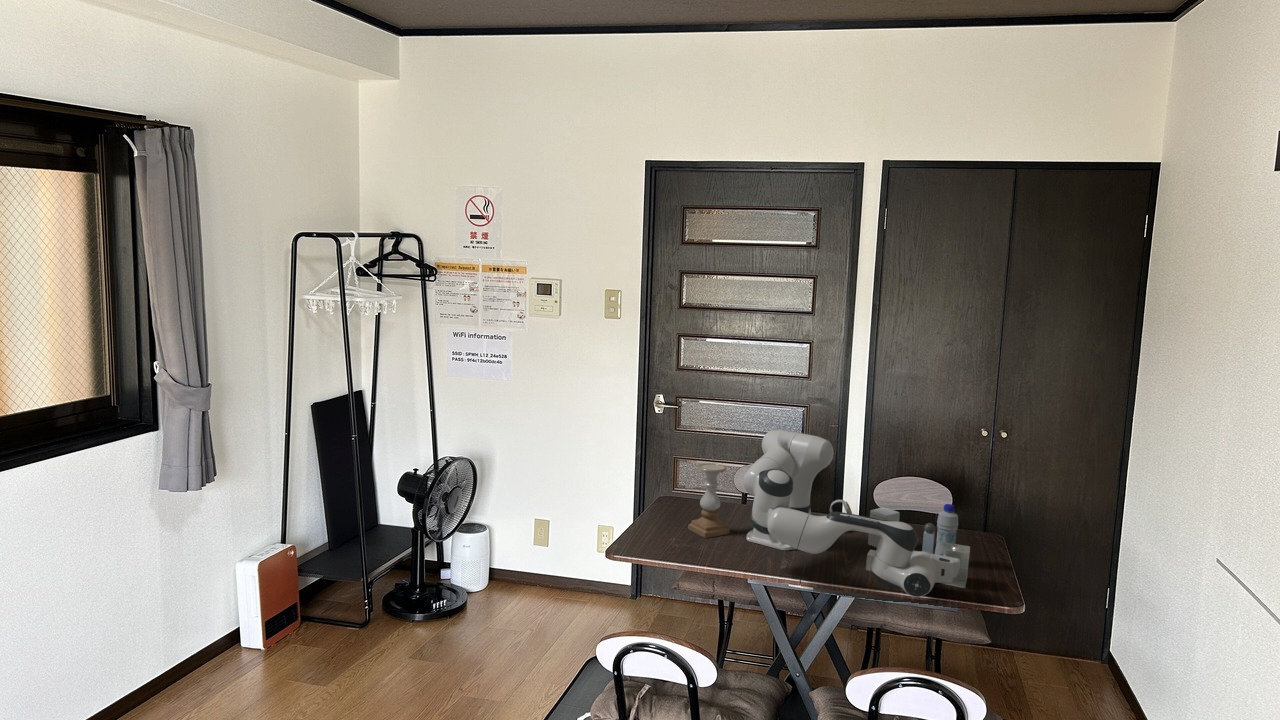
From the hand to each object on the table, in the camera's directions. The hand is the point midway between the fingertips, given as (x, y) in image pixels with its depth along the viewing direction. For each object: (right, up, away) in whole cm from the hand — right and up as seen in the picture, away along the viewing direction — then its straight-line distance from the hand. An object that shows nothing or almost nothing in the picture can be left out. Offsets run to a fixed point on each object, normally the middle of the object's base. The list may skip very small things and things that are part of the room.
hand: (926, 553), depth 264 cm
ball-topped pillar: (+2, -8, +3) cm, 9 cm away
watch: (-16, -2, +49) cm, 51 cm away
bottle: (+12, -7, +19) cm, 23 cm away
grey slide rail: (-1, -8, +6) cm, 10 cm away
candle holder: (-65, -2, +40) cm, 76 cm away
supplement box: (-5, -5, +33) cm, 33 cm away
